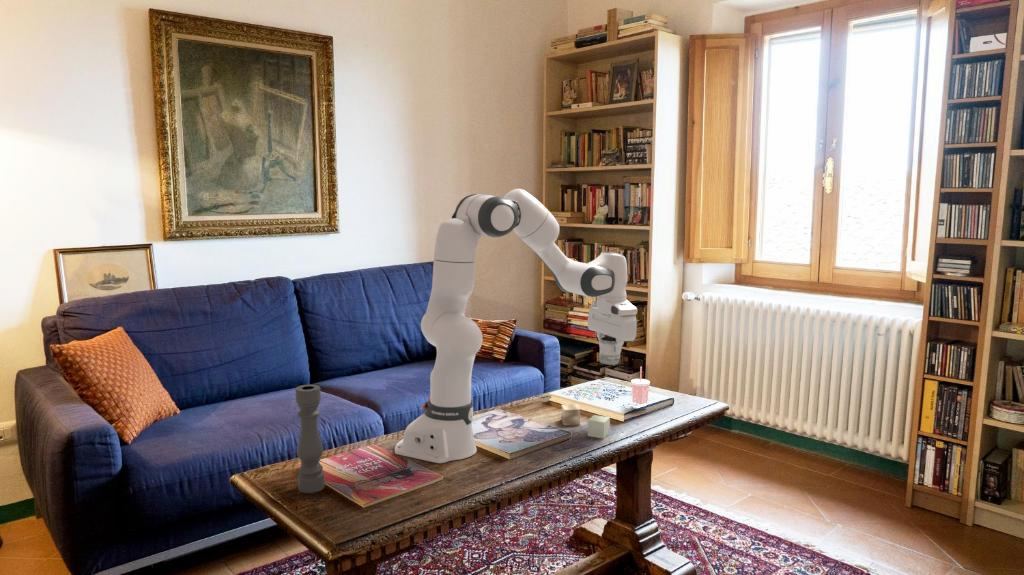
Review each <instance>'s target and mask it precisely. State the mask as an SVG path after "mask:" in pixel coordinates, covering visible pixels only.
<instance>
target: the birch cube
mask: <svg viewBox="0 0 1024 575" xmlns="http://www.w3.org/2000/svg"><path fill="white" fill-rule="evenodd" d="M560 415H561V416H560V417H561V422H562V425H563V426H580V425H581V408H580V406H579V405H578V404H577V403H575V404H561V414H560Z"/></svg>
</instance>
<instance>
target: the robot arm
mask: <svg viewBox="0 0 1024 575" xmlns="http://www.w3.org/2000/svg"><path fill="white" fill-rule="evenodd" d="M512 231H513V232H514V233H515V234H516V235H517V237H519V239H520V240H522V242H524V243H525V244H526V245H527V246H528V248H530V249H531V250H532V251H533V252H534V253H535V255H536V256H537V257H538V258H539V259H540V260H541V262H542V263H543V264H544V265H545V266H546V267H547V268H548V270H549V271H550V272H551V274H552V276H553V278H554V282H555V283H556V286H557V287H558V289H559V290H561V291H562V292H563V293H567V294H574V295H577V296H578V295H580V296H584V297H588V298H595V297H596V300H593V301H592V302H591V303H590V308H589V310H588V316H587V323H586V324H587V328H588V330H589V331H594V332H596V336H597V339H598V343H599V344H598V346H599V347H600V339H601V338H603V337H605V336H611V337H614V338H616V342H617V344H616V346H614V352H616V353H620V354H621V352H622V347H623V346H624V343H625V342H630V341H631V342H632V341H635V339H636V337H637V325H638V323H637V322H638V321H637V317H636V315H637V314H638V308H637V306H635V305H633V304H632V303H631V302H630V301H629V300H628V299H627V298H628V296H627V291H626V290H627V289H626V287H627V283H628V264H627V259H626V257H625V255H624V254H622V253H617V252H611V251H606V250H605V251H601V252H600V254H599V255H598V256H597V257H596V258H595V259H593V260H591V261H589V262H587V263H585V262H580V261H576V260H574V259H571V258H570V257H569V258H568V257H567V256H566V255H565V253H564V252H563V251H562V250H561V249H560V248H559V246H558V245H557V243H555V242H556V241H557V239H558V237H559V235H560V224H559V222H558V221H557V219H556V217H555V216H554V215H553V214H552V213H551V211H550V210H549V209H548V208H547V207H546V206H545V205H544V204H543V203H542V202H541V201H539V200H538V199H537V198H536V197H535V196H534V195H532V194H531V193H529V192H527V191H526V190H525V189H523V188H515V189H514V188H513V189H511V190H510V191H508V192H507V193H505V195H504V196H503V197H502V196H495V195H491V194H487V193H486V194H484V193H479V194H475V193H474V194H473V193H472V194H469V195H466V196H465V197H462V198H461V200H459V202H458V204H457V205H456V207H455V210H454V212H453V214H452V216H451V218H448V219H446V220H444V221H443V222H442V223H441V224H440V225H439V227H438V230H437V233H436V238H435V244H434V251H433V268H432V269H433V270H432V284H431V291H430V295H429V300H428V304H427V307H426V312H425V313H424V314H423V317H422V319H421V321H420V328H421V329H420V330H421V332H422V335H423V337H425V340H426V341H427V343H430V344H431V345H432V346H433V347H435V349H436V357H435V362H434V367H433V370H432V371H431V372H430V375H429V376H430V377H429V378H430V379H429V380H430V382H429V383H430V384H429V385H430V386H429V387H430V389H429V390H430V392H429V393H430V397H428V399H427V401H425V402H424V403H423V405H422V406H421V407H422V409H421V410H422V411H424V413H422V414H420V416H418V417H417V418H416V419H414V420H413V421H412V422H410V423H409V424H408V425H407V427H406V428H405V430H404V433H403V437H402V439H401V440H399V441H398V442H397V443H396V445H395V446H394V453H395V455H400V456H404V457H408V458H413V459H417V460H422V461H425V462H431V463H436V464H444V463H448V462H451V461H458V460H463V459H466V458H471V456H473V455H475V454H476V453H477V451H478V448H477V446H476V441H475V438H474V430H473V429H474V428H473V423H472V422H473V420H474V419H473V417H474V407H473V404H474V403H473V400H472V372H473V367H474V362H475V358H476V354H478V352H479V351H480V350H481V347H482V344H483V339H484V338H483V332H482V331H481V328H480V327H479V326H478V325H477V323H476V322H475V321H474V320H473V319H472V318H470V317H468V316H466V314H465V312H466V308H467V304H468V301H469V298H470V296H471V295H472V294H473V291H474V289H475V288H474V287H475V272H476V252H477V250H476V249H477V245H478V242H480V239H481V238H482V237H491V238H501V237H504V236H506V235H508V234H509V233H511V232H512Z"/></svg>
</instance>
